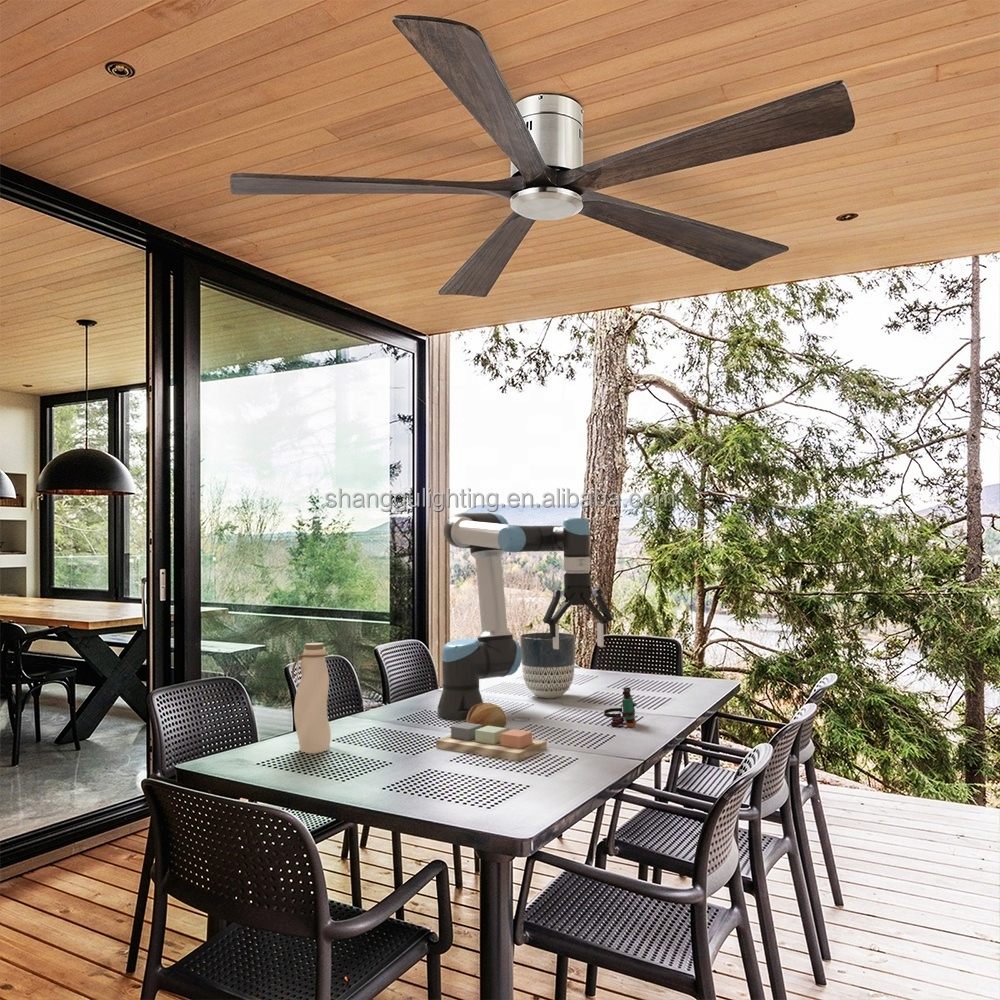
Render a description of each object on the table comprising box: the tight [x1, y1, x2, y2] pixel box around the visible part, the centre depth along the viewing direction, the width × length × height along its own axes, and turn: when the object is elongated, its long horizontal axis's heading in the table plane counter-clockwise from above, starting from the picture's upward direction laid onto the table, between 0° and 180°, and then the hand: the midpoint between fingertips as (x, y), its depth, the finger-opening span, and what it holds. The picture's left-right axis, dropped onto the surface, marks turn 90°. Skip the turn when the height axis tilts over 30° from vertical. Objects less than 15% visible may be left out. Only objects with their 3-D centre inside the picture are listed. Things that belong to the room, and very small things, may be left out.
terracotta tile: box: [501, 728, 533, 749], centre depth 207 cm, size 6×6×3 cm
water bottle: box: [291, 642, 332, 754], centre depth 213 cm, size 10×9×28 cm
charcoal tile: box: [450, 721, 482, 741], centre depth 216 cm, size 6×6×3 cm
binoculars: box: [603, 686, 637, 728], centre depth 237 cm, size 9×11×10 cm
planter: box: [519, 632, 576, 699], centre depth 281 cm, size 20×20×21 cm
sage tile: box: [475, 726, 508, 745], centre depth 212 cm, size 6×6×3 cm
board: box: [435, 734, 548, 762], centre depth 212 cm, size 26×14×2 cm, turn 57°
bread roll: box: [465, 702, 508, 728], centre depth 231 cm, size 10×15×8 cm, turn 146°
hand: (578, 647), depth 225 cm, fingers open, 13 cm apart
